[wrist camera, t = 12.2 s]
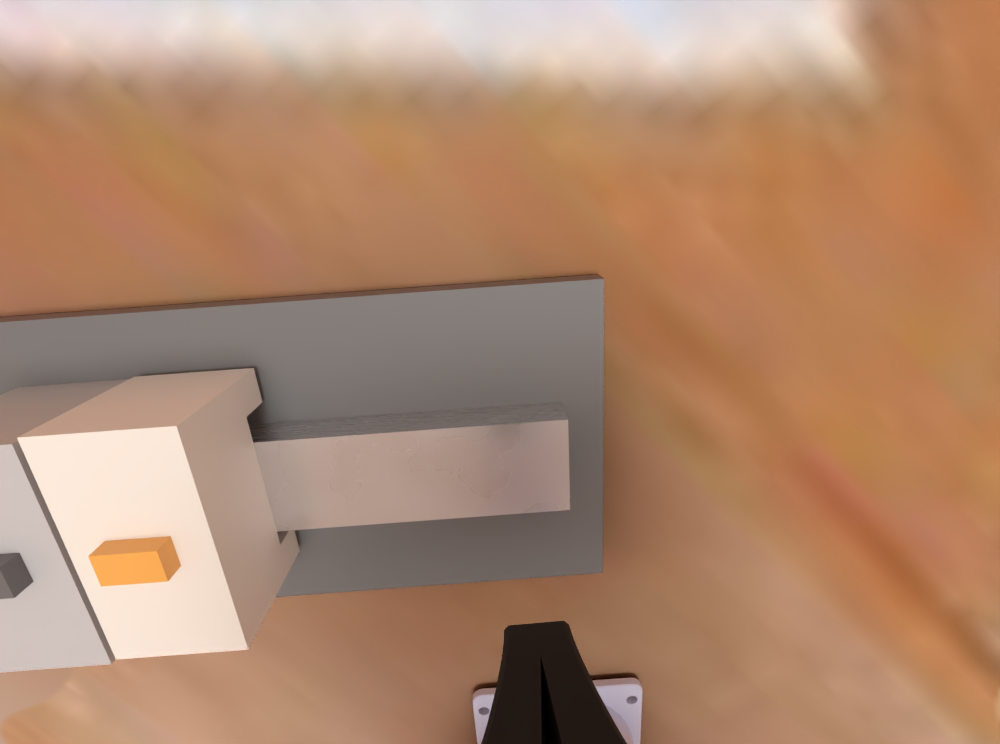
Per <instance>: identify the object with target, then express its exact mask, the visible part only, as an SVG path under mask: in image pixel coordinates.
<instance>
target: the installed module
mask: <svg viewBox="0 0 1000 744" xmlns="http://www.w3.org/2000/svg"><path fill="white" fill-rule="evenodd" d="M127 380H129V379H124V380H110V381H96V382H82V383H69V384H55V385H41V386H27V387H18V388H15V389H13V390H10V391H8V392H6V393H3V394H1V395H0V672H10V671H24V670H25V671H26V670H39V669H52V668H66V667H79V666H93V665H106V664H112V663H113V662H114V660H115V659H116V658H115V656H114V654H113V652H112V650H111V647H110V645H109V643H108V641H107V638H106V636H105V634H104V632H103V629H102V627H101V625H100V623H99V620H98V618H97V616H96V614H95V612H94V609H93V607H92V605H91V603H90V600H89V598H88V596H87V594H86V591H85V589H84V587H83V585H82V582H81V580H80V578H79V576H78V573H77V571H76V569H75V567H74V565H73V562H72V560H71V558H70V556H69V553H68V551H67V549H66V547H65V544H64V542H63V540H62V538H61V535H60V533H59V531H58V529H57V527H56V524H55V522H54V520H53V518H52V515H51V513H50V511H49V509H48V506H47V504H46V502H45V500H44V497H43V495H42V493H41V491H40V489H39V486H38V484H37V482H36V480H35V477H34V475H33V473H32V471H31V468H30V466H29V464H28V462H27V459H26V457H25V455H24V453H23V450H22V448H21V446H20V444H19V442H18V439H17V437H19V436H21V435H23V434H25V433H27V432H29V431H30V430H32V429H34V428H36V427H38V426H40V425H42V424H44V423H46V422H48V421H50V420H52V419H54V418H55V417H57V416H59V415H61V414H63V413H65V412H67V411H69V410H71V409H73V408H75V407H77V406H79V405H80V404H82V403H84V402H86V401H88V400H90V399H92V398H94V397H96V396H98V395H100V394H102V393H104V392H105V391H107V390H109V389H111V388H113V387H115V386H117V385H119V384H121V383H123V382H125V381H127Z"/></svg>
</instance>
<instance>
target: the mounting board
mask: <svg viewBox="0 0 1000 744" xmlns="http://www.w3.org/2000/svg"><path fill="white" fill-rule="evenodd" d="M245 368H254V371H255V375H256V379H257V383H258V387H259V391H260V395H261V399H262V403H261V404H260V405H259V406H258V407H257V408H256V409H255V410H253V411H252V412H251V413H250V414H249V415H248V416H247V421H248V424H260V423H274V422H288V421H301V420H315V419H329V418H343V417H356V416H370V415H384V414H397V413H411V412H425V411H439V410H452V409H466V408H480V407H494V406H507V405H521V404H535V403H548V402H562V404H563V407H564V410H565V412H566V415H567V418H568V434H569V479H570V510H562V511H548V512H535V513H521V514H508V515H494V516H480V517H467V518H453V519H440V520H426V521H412V522H399V523H385V524H372V525H358V526H345V527H331V528H317V529H304V530H295V534H296V538H297V542H298V546H299V550H300V551H299V553H298V555H297V557H296V559H295V561H294V563H293V565H292V567H291V568H290V570H289V572H288V574H287V576H286V578H285V580H284V582H283V584H282V586H281V588H280V590H279V592H278V593H277V595H276V597H283V596H296V595H310V594H323V593H337V592H350V591H364V590H377V589H391V588H404V587H418V586H431V585H445V584H458V583H472V582H485V581H499V580H512V579H526V578H539V577H553V576H566V575H580V574H593V573H603V415H604V278H602V277H601V276H600V275H598V274H592V275H578V276H564V277H550V278H536V279H522V280H508V281H495V282H481V283H467V284H453V285H439V286H425V287H411V288H397V289H383V290H370V291H356V292H342V293H328V294H314V295H300V296H286V297H272V298H259V299H245V300H231V301H217V302H203V303H189V304H175V305H161V306H148V307H134V308H120V309H106V310H92V311H78V312H64V313H50V314H36V315H23V316H9V317H0V395H1V394H3V393H6V392H8V391H10V390H13V389H15V388H18V387H27V386H41V385H55V384H69V383H82V382H96V381H110V380H124V379H130V378H132V377H135V376H149V375H163V374H177V373H190V372H204V371H218V370H232V369H245Z"/></svg>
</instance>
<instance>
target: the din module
mask: <svg viewBox="0 0 1000 744" xmlns="http://www.w3.org/2000/svg"><path fill="white" fill-rule="evenodd" d="M261 403H262V399H261V395H260V391H259V387H258V383H257V379H256V375H255V371H254V368H245V369H232V370H218V371H204V372H190V373H177V374H163V375H149V376H135V377H132V378H130V379H129V380H127V381H125V382H123V383H121V384H119V385H117V386H115V387H113V388H111V389H109V390H107V391H105V392H104V393H102V394H100V395H98V396H96V397H94V398H92V399H90V400H88V401H86V402H84V403H82V404H80V405H79V406H77V407H75V408H73V409H71V410H69V411H67V412H65V413H63V414H61V415H59V416H57V417H55V418H54V419H52V420H50V421H48V422H46V423H44V424H42V425H40V426H38V427H36V428H34V429H32V430H30V431H29V432H27V433H25V434H23V435H21V436H19V437H17V439H18V442H19V444H20V446H21V448H22V450H23V453H24V455H25V457H26V459H27V462H28V464H29V466H30V468H31V471H32V473H33V475H34V477H35V480H36V482H37V484H38V486H39V489H40V491H41V493H42V495H43V497H44V500H45V502H46V504H47V506H48V509H49V511H50V513H51V515H52V518H53V520H54V522H55V524H56V527H57V529H58V531H59V533H60V535H61V538H62V540H63V542H64V544H65V547H66V549H67V551H68V553H69V556H70V558H71V560H72V562H73V565H74V567H75V569H76V571H77V573H78V576H79V578H80V580H81V582H82V585H83V587H84V589H85V591H86V594H87V596H88V598H89V600H90V603H91V605H92V607H93V609H94V612H95V614H96V616H97V618H98V620H99V623H100V625H101V627H102V629H103V632H104V634H105V636H106V638H107V641H108V643H109V645H110V647H111V650H112V652H113V654H114V656H115V658H116V659H129V658H142V657H156V656H169V655H183V654H196V653H209V652H223V651H236V650H248V649H249V647H250V645H251V643H252V642H253V640H254V638H255V636H256V634H257V632H258V630H259V628H260V626H261V624H262V622H263V620H264V618H265V617H266V615H267V613H268V611H269V609H270V607H271V605H272V603H273V601H274V599H275V597H276V595H277V593H278V592H279V590H280V588H281V586H282V584H283V582H284V580H285V578H286V576H287V574H288V572H289V570H290V568H291V567H292V565H293V563H294V561H295V559H296V557H297V555H298V553H299V551H300V550H299V546H298V542H297V538H296V534H295V530H290V531H277V530H276V526H275V522H274V519H273V515H272V511H271V507H270V504H269V500H268V496H267V492H266V489H265V485H264V481H263V477H262V473H261V470H260V466H259V462H258V458H257V455H256V451H255V447H254V443H253V440H252V436H251V432H250V428H249V425H248V421H247V416H248V415H249V414H250V413H251V412H252V411H253V410H255V409H256V408H257V407H258V406H259V405H260V404H261Z"/></svg>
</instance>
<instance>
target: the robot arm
mask: <svg viewBox="0 0 1000 744" xmlns="http://www.w3.org/2000/svg"><path fill="white" fill-rule="evenodd" d="M642 692H643V690H642V687H641V683H640V681H639V680H638V679H636V678H618V679H604V680H592V679H591V677H590V675H589V673H588V671H587V669H586V667H585V665H584V663H583V660H582V658H581V656H580V654H579V651H578V649H577V646H576V644H575V641H574V639H573V636H572V633H571V630H570V627H569V624H567V623H566V622H565V621H557V622H545V623H533V624H522V625H510V626H508V627H507V628H506V629H505V630H504V645H503V654H502V661H501V666H500V672H499V677H498V682H497V687H496V688H484V689H479V690H477V691H475V692H474V694H473V702H472V704H473V712H474V720H475V728H476V737H477V744H640V738H641V715H642Z"/></svg>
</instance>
